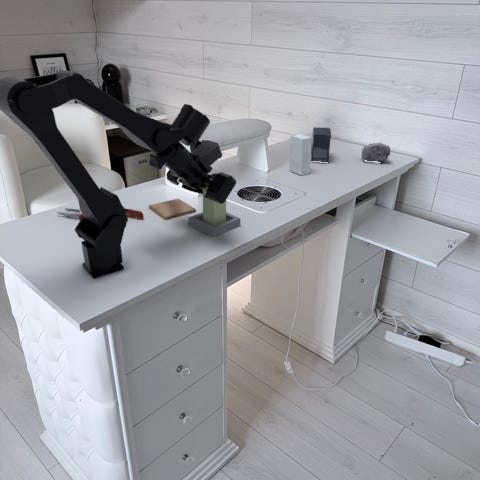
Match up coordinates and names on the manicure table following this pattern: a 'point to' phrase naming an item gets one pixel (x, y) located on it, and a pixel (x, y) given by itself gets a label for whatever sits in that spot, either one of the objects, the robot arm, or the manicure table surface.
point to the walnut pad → (172, 208)
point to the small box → (320, 144)
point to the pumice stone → (376, 152)
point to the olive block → (213, 211)
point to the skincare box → (300, 154)
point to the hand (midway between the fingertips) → (218, 197)
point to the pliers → (78, 214)
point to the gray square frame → (230, 224)
